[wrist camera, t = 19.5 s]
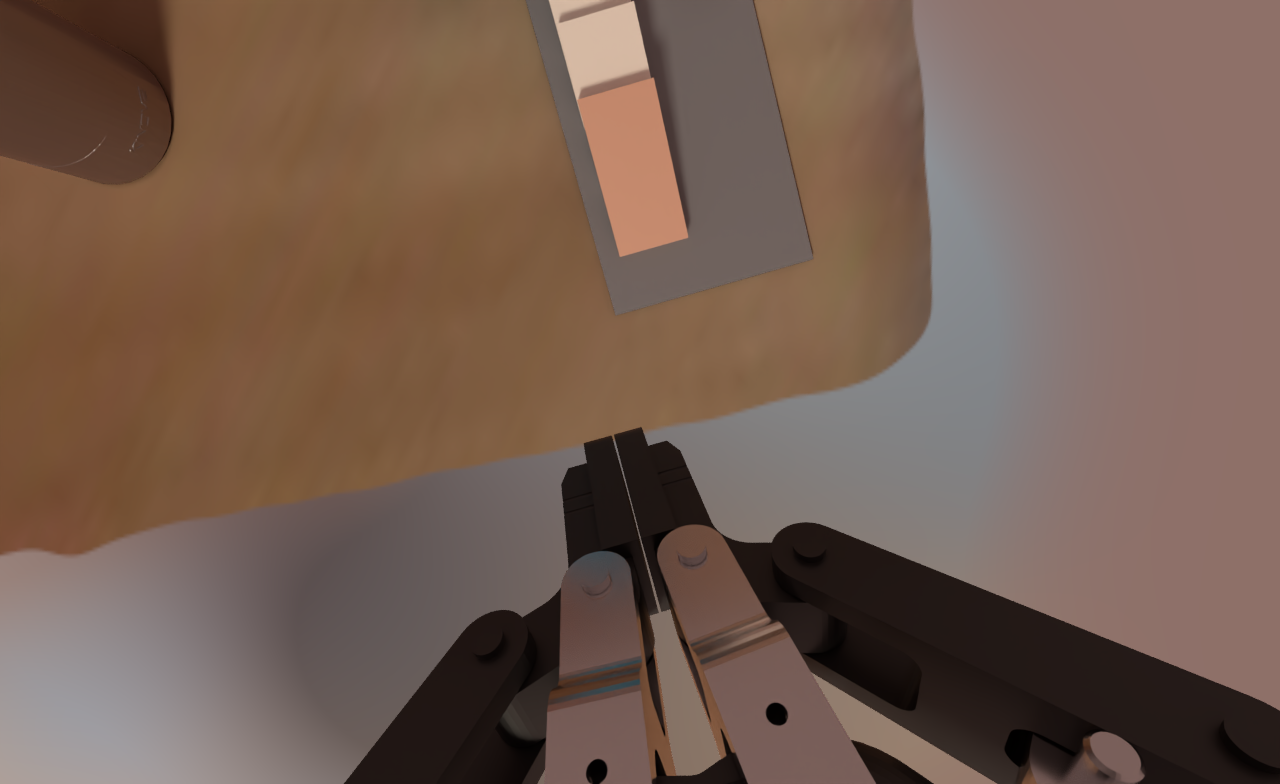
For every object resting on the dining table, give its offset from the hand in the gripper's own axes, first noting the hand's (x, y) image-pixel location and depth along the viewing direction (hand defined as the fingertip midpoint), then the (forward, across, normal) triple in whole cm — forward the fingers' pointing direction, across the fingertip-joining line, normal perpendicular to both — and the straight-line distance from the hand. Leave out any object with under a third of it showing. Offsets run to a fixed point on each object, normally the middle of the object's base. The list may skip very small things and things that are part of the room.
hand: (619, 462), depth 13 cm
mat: (+29, -10, -4) cm, 31 cm away
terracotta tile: (+26, -6, +2) cm, 26 cm away
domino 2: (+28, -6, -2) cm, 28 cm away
